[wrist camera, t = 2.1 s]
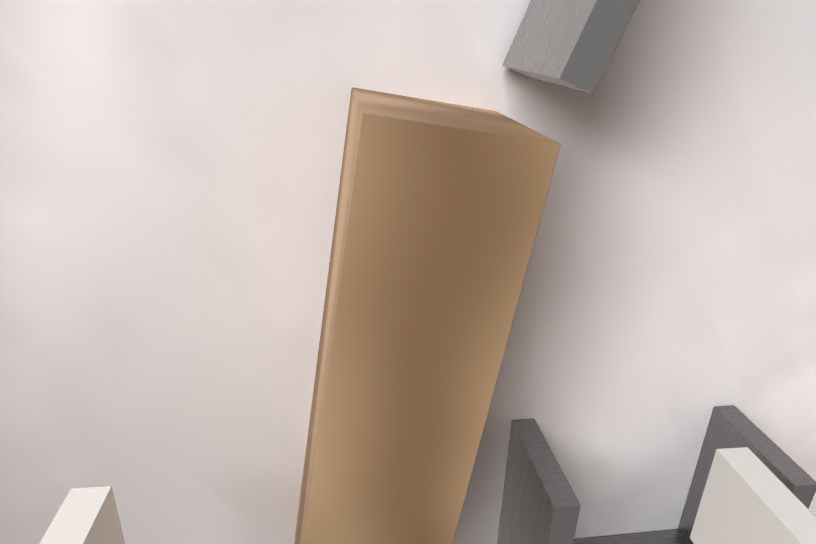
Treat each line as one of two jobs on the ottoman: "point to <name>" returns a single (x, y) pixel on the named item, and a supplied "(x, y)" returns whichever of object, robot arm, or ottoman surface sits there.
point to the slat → (416, 314)
